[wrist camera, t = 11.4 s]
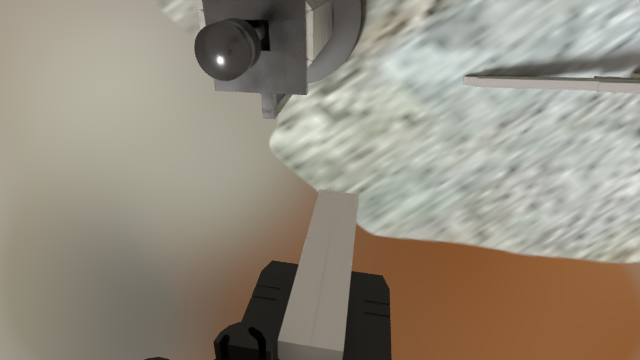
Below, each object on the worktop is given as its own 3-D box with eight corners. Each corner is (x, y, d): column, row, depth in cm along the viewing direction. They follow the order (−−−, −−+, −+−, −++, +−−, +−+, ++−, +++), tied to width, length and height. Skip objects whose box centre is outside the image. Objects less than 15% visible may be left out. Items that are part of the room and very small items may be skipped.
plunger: (246, -21, 37) (152, -14, 22) (319, -20, 36) (274, -13, 21) (253, 56, 41) (178, 106, 26) (319, 58, 40) (281, 112, 25)
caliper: (653, 70, 40) (695, 86, 35) (649, 80, 41) (690, 97, 36) (463, 75, 44) (475, 90, 38) (462, 84, 44) (473, 100, 39)
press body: (248, -33, 40) (188, -34, 28) (335, -33, 39) (313, -34, 27) (258, 82, 47) (213, 123, 34) (332, 85, 46) (314, 129, 33)
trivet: (220, -65, 40) (217, -66, 39) (365, -67, 38) (365, -68, 37) (237, 80, 48) (235, 81, 47) (357, 85, 46) (357, 86, 45)
